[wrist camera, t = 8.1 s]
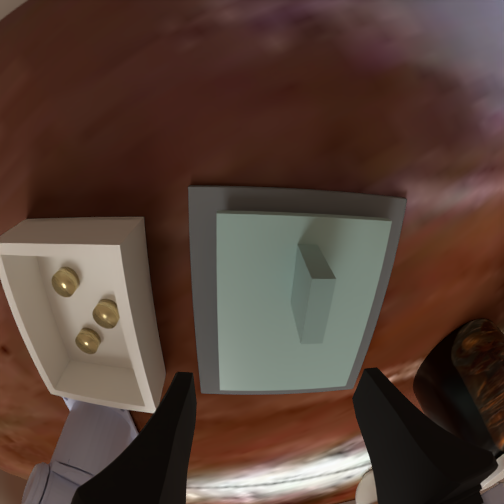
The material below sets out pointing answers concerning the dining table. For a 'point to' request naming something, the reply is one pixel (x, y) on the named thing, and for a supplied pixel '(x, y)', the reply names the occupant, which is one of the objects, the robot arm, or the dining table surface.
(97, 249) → the tub
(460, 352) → the jar
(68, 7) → the dining table surface
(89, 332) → the set of gold balls
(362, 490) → the lidded jar
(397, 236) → the mat
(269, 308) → the lid
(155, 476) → the robot arm
